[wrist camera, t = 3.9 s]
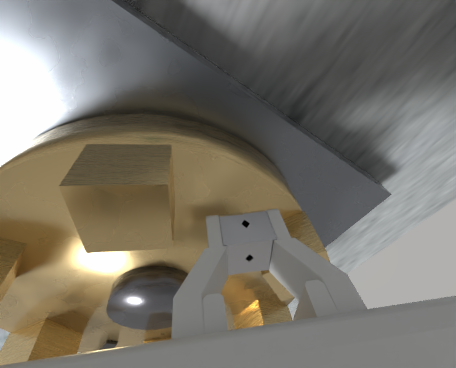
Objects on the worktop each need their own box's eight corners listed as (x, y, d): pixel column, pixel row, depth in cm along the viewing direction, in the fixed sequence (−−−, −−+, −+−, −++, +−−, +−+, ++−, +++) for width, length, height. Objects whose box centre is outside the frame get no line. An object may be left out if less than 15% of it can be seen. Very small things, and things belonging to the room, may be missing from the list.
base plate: (-1, -88, 9) (-46, -108, 7) (374, 178, 19) (393, 196, 18) (-50, 274, 19) (-73, 301, 18) (210, 319, 30) (211, 339, 28)
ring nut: (21, 11, 9) (-139, 26, 4) (354, 206, 17) (410, 275, 13) (-35, 294, 18) (-107, 392, 13) (205, 330, 26) (209, 396, 22)
